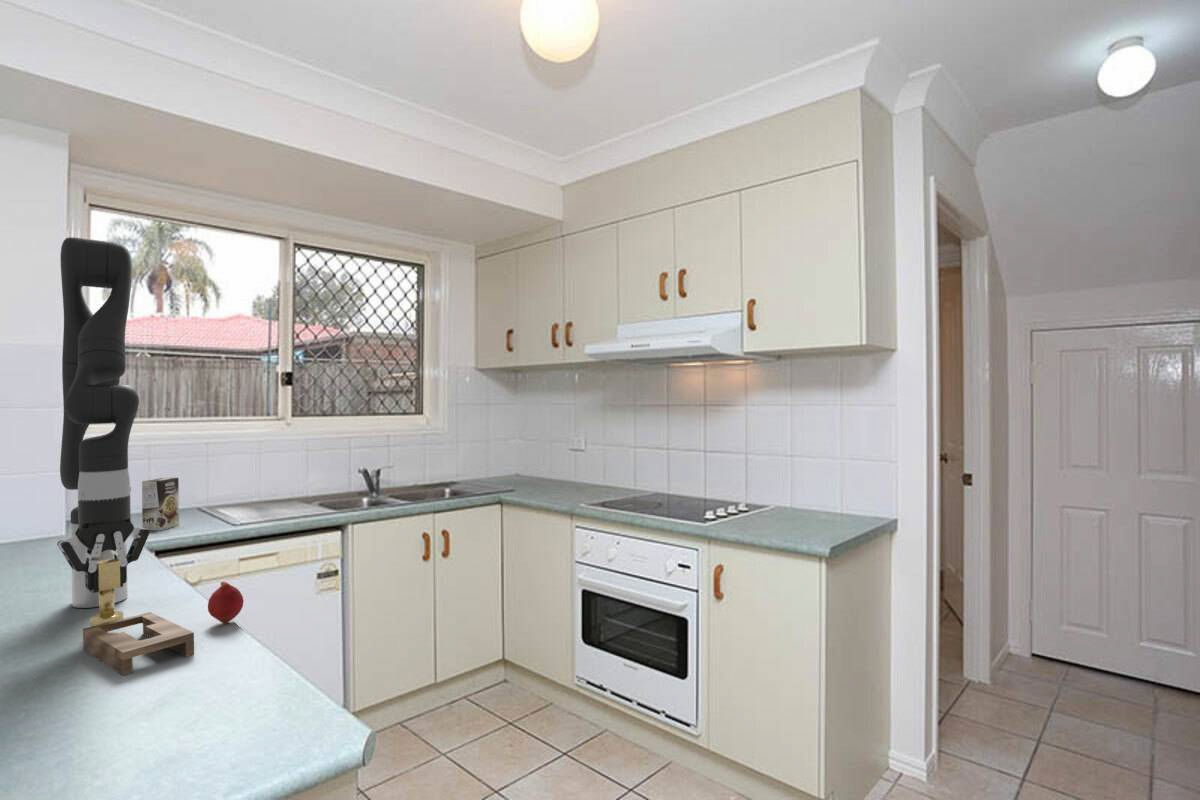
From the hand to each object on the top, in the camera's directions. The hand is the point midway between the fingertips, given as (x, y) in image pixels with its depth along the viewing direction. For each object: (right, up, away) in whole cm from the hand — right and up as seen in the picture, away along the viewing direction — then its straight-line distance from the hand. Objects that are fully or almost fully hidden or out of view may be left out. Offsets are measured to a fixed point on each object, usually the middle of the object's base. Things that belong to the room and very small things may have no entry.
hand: (106, 588), depth 117 cm
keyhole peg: (0, -6, 0) cm, 6 cm away
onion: (+19, -8, +5) cm, 21 cm away
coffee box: (-55, -8, +95) cm, 110 cm away
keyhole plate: (+12, -8, -8) cm, 16 cm away
